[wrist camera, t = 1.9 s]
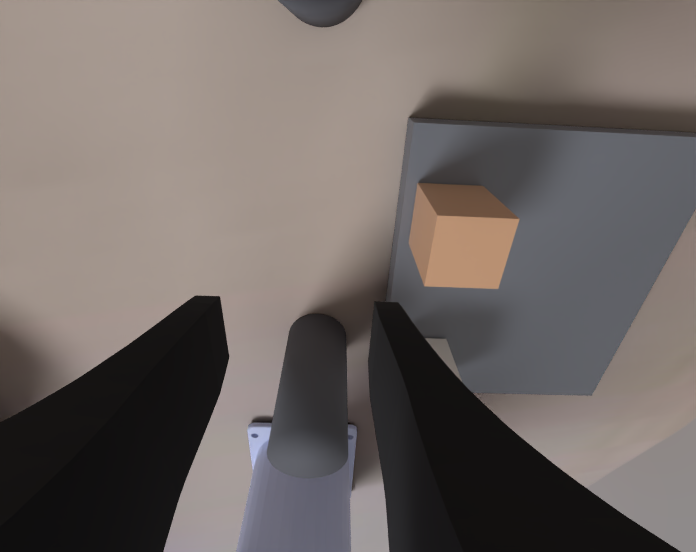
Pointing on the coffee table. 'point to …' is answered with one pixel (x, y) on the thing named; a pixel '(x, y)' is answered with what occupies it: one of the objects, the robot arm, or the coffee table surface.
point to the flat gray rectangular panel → (547, 245)
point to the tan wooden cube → (460, 236)
